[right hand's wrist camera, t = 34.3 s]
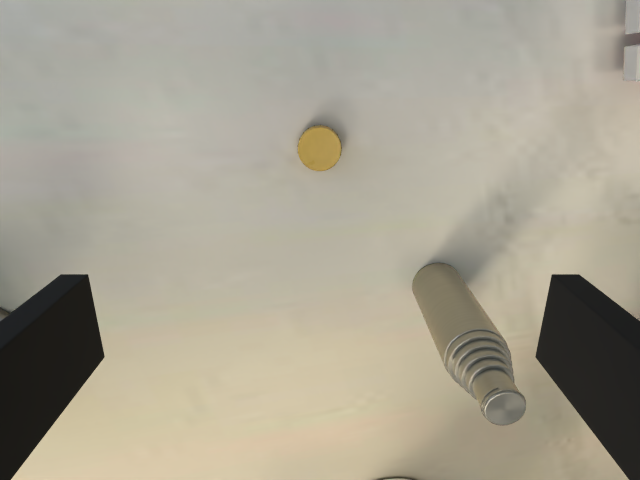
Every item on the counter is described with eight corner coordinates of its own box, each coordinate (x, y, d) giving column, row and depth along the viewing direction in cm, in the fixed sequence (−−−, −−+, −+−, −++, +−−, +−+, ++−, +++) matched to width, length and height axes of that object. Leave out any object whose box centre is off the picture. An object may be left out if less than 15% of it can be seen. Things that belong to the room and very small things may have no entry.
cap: (324, 115, 42) (324, 117, 40) (349, 151, 43) (350, 154, 41) (289, 141, 43) (288, 144, 41) (315, 176, 44) (314, 180, 42)
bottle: (464, 264, 47) (552, 379, 29) (456, 307, 49) (534, 440, 31) (415, 261, 47) (474, 375, 29) (409, 305, 49) (461, 437, 31)
